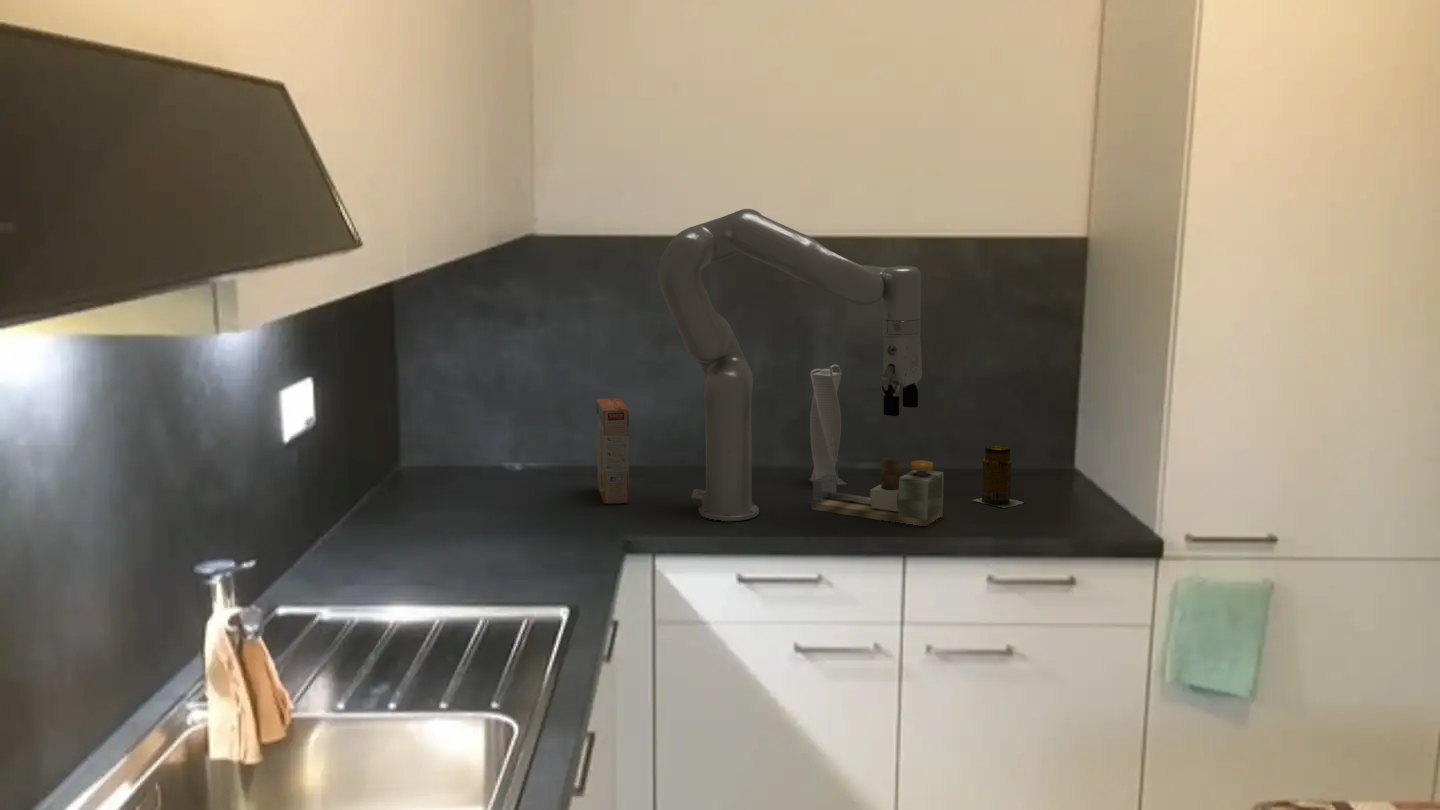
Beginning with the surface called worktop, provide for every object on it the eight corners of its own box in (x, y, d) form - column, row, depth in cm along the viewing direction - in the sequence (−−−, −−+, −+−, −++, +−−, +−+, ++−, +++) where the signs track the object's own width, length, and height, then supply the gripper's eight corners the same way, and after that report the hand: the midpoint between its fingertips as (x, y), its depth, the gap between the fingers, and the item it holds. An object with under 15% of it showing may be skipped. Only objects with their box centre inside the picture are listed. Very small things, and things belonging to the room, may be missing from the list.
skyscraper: (849, 487, 288) (851, 364, 283) (815, 489, 286) (816, 366, 281) (836, 478, 296) (838, 359, 291) (803, 480, 294) (804, 360, 289)
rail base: (810, 509, 270) (811, 465, 268) (829, 499, 277) (830, 457, 275) (925, 527, 256) (926, 481, 255) (942, 516, 264) (943, 472, 262)
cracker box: (631, 504, 274) (629, 408, 270) (603, 505, 273) (601, 410, 269) (623, 487, 288) (622, 397, 284) (597, 489, 287) (595, 398, 283)
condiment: (993, 495, 281) (995, 442, 278) (1024, 503, 274) (1027, 449, 272) (971, 501, 276) (973, 447, 274) (1003, 509, 270) (1005, 454, 267)
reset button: (907, 479, 259) (907, 463, 259) (915, 474, 263) (916, 459, 262) (927, 481, 257) (927, 466, 256) (935, 477, 261) (936, 462, 260)
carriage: (870, 508, 263) (871, 461, 262) (884, 500, 269) (885, 454, 267) (896, 512, 260) (898, 464, 258) (910, 504, 266) (911, 457, 264)
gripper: (901, 334, 248) (901, 420, 251) (935, 323, 262) (934, 405, 266) (866, 332, 252) (866, 417, 255) (901, 322, 266) (900, 402, 269)
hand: (900, 411), depth 260 cm, fingers open, 9 cm apart
